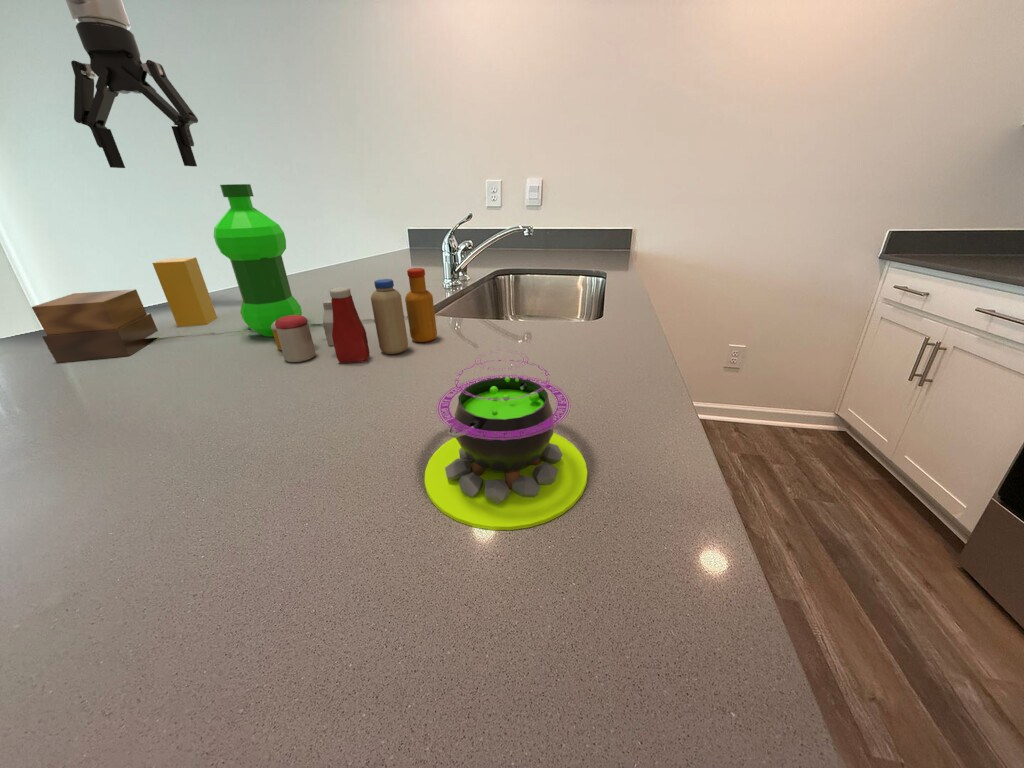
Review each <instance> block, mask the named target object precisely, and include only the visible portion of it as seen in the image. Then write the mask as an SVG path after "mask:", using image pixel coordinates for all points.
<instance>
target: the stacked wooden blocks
mask: <svg viewBox="0 0 1024 768" xmlns="http://www.w3.org/2000/svg"><path fill="white" fill-rule="evenodd" d="M31 310H32V311H33V313H34V315H35V316H36V318H37V320H38V322H39V324H40V325H41V327H42V329H43V331H44V333H45V335H42V336H41V338H42V339H43V341H44V343H45V345H46V347H47V348H48V350H49V352H50V353H51V355H52V357H53V359H54V361H55V363H56V364H61V363H62V364H63V363H71V362H72V363H73V362H80V361H81V362H82V361H83V362H84V361H92V360H103V359H113V358H122V357H130V356H132V355H133V354H135V353H136V352H139V351H140V350H141V349H143V348H145V347H146V346H148V345H150V344H151V343H153V342H154V341H156V340H158V339H159V338H160V337H158V336H157V337H150V336H151V335H153V334H155V333H157V332H158V331H159V330H158V328H157V325H156V323H155V320H154V318H153V316H152V313H147V311H146V309H145V307H144V304H143V302H142V300H141V297H140V295H139V292H138V290H137V289H136V288H134V289H119V290H104V291H103V290H102V291H89V292H75V293H71V294H67V295H64V296H61V297H58V298H55V299H52V300H49V301H46V302H42V303H40V304H36V305H34V306H31Z"/></svg>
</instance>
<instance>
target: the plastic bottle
mask: <svg viewBox="0 0 1024 768" xmlns="http://www.w3.org/2000/svg"><path fill="white" fill-rule="evenodd" d="M219 187H220V190H221V193H222V197H223V198H227V200H228V204H229V207H230V208H229V209H228V210H227V211H226V212H225V214H224V215H223V216H222V217H221V218H220V219H219V221H218V222H217V223H216V225H215V226H214V227H213V239H214V242H215V245H216V247H217V248H218V250H219V253H220V254H222V255H223V256H225V257H226V258H228V259H229V260H230V264H231V268H232V270H233V273H234V277H235V279H236V282H237V283H236V284H237V286H238V290H239V292H240V295H241V298H242V302H241V305H240V315H241V319H242V320H243V322H244V323H245V324H246V326H248V328H249V329H251V330H252V331H254V332H256V333H257V334H259V335H262V336H263V337H270V338H271V337H274V335H273V331H272V329H271V325H272V323H273V322H275V321H276V320H278V319H279V318H281V317H284V316H289V315H301V316H303V315H302V314H303V311H302V307H301V305H300V304H299V302H298V300H297V299H296V298H295V297H294V296H293V294H292V291H291V287H290V282H289V279H288V276H287V275H288V274H287V271H286V267H285V264H284V260H283V254H284V253H285V251H286V250H287V239H286V235H285V231H284V230H283V229H282V227H281V226H280V224H278V223H277V222H276V221H275V220H273V219H272V218H270V217H269V216H267V215H266V214H265V213H263V212H261V211H260V210H258V209H257V208H255V207H254V206H253V202H252V198H251V197H254V193H253V189H252V185H251V183H244V184H243V183H240V184H239V183H237V184H232V183H231V184H219Z"/></svg>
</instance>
